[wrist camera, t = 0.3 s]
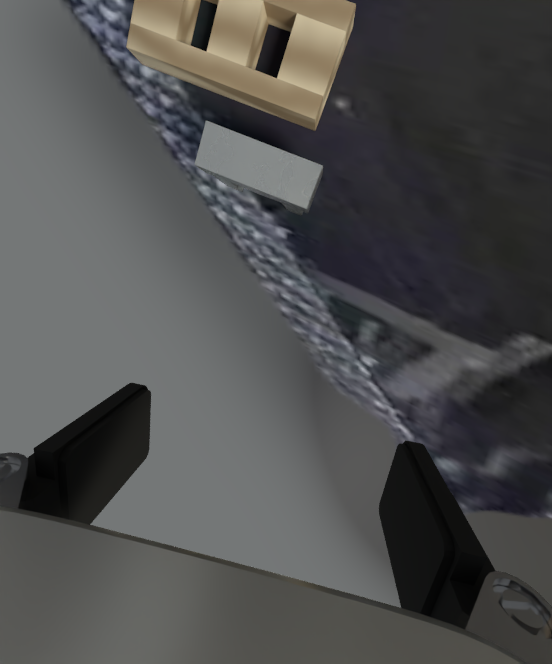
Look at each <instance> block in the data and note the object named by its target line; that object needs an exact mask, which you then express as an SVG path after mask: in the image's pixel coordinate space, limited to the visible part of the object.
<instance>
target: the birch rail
mask: <svg viewBox="0 0 552 664" xmlns="http://www.w3.org/2000/svg"><path fill="white" fill-rule="evenodd" d="M206 1H208V2H211V3H214V4H216V5H218V7H217V11H216V15H215V19H214V23H213V27H212V31H211V35H210V40H209V44H208V48H207V52H206V51H203V50H201V49H198V48H195V47H193V46H190V45H191V41H192V37H193V32H194V28H195V24H196V19H197V15H198V10H199V6H200V2H201V0H134V6H133V12H132V17H131V23H130V29H129V35H128V40H127V46H126V47H127V48H128V50H129V51H130V52H131V53H132V54H133V55H134V56H135V57H136V58H137V59H138V60H139V61H140V62H141V64H142V65H145V66H148V67H150V68H153V69H155V70H158V71H161V72H163V73H166V74H168V75H171V76H174V77H176V78H179V79H181V80H184V81H187V82H189V83H192V84H194V85H197V86H200V87H202V88H205V89H207V90H210V91H213V92H215V93H218V94H220V95H223V96H226V97H228V98H231V99H233V100H236V101H239V102H241V103H244V104H246V105H249V106H252V107H254V108H257V109H259V110H262V111H265V112H267V113H270V114H272V115H275V116H278V117H280V118H283V119H285V120H288V121H291V122H293V123H296V124H298V125H301V126H304V127H306V128H309V129H311V130H314V131H315V130H316V128H317V125H318V122H319V119H320V116H321V114H322V111H323V108H324V105H325V103H326V100H327V97H328V94H329V92H330V89H331V86H332V83H333V80H334V78H335V75H336V72H337V69H338V67H339V64H340V61H341V58H342V56H343V53H344V50H345V47H346V45H347V42H348V39H349V36H350V33H351V31H352V28H353V22H354V15H355V8H356V4H354V3H351V2H349V1H346V0H206ZM268 24H270V25H273V26H275V27H278V28H281V29H283V30H286V31H289V32H291V35H290V38H289V41H288V44H287V48H286V51H285V54H284V57H283V60H282V64H281V67H280V70H279V73H278V76H277V78H274V77H272V76H269V75H267V74H264V73H261V72H259V71H256V70H255V69H256V65H257V62H258V58H259V55H260V51H261V48H262V44H263V41H264V37H265V34H266V31H267V27H268Z"/></svg>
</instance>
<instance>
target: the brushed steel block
mask: <svg viewBox="0 0 552 664" xmlns="http://www.w3.org/2000/svg"><path fill="white" fill-rule="evenodd" d="M195 165H196V166H197V167H198V168H200V169H201V170H203V171H204V172H205V173H207V174H210V175H213V176H215V177H216V178H217V179H219V180H220V181H221V182H223V183H224V184H225V185H227V186H228V187H231V188H233V189H236V190H238V191H241V192H243V189H244V188H245V189H248V190H251V191H253V192H256V193H258V194H261V195H263V196H266V197H268V198H271V199H273V200H276V201H278V202H281V203H282V204H283V205H284V206H285V208H286V209H287V210H289V211H291V212H294V213H296V214H299V215H301V216H302V213H303V211H304V212H306V213H308V211H309V208H310V206H311V203H312V200H313V198H314V195H315V193H316V190H317V187H318V185H319V182H320V180H321V177H322V174H323V166H322V165H319V164H317V163H314V162H312V161H309V160H307V159H304V158H301V157H299V156H296V155H294V154H291V153H289V152H286V151H283V150H281V149H278V148H276V147H273V146H271V145H268V144H265V143H263V142H260V141H258V140H255V139H253V138H250V137H247V136H245V135H242V134H240V133H237V132H235V131H232V130H229V129H227V128H224V127H222V126H219V125H216V124H214V123H211V122H209V121H206V123H205V127H204V130H203V134H202V138H201V142H200V146H199V150H198V154H197V158H196V161H195Z"/></svg>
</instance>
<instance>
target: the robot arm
mask: <svg viewBox="0 0 552 664" xmlns="http://www.w3.org/2000/svg"><path fill="white" fill-rule="evenodd" d="M150 404H151V392H150V391H149V390H148V389H147V387H146V386H145V385H140V384H135V383H129V384H128V385H126V386H125V387H123V388H122V389H120V390H119V391H117V392H116V393H115V394H113V395H112V396H110V397H109V398H107V399H106V400H104V401H103V402H101V403H100V404H98V405H97V406H95V407H94V408H92V409H91V410H89V411H88V412H86V413H85V414H84V415H82V416H81V417H79V418H78V419H76V420H75V421H73V422H72V423H70V424H69V425H67V426H66V427H64V428H63V429H62V430H60V431H59V432H57V433H56V434H54V435H53V436H51V437H50V438H48V439H47V440H45V441H44V442H42V443H41V444H39V445H38V446H37V447H35V448H34V454H32V455H31V456H29V457H28V458H27V457H26V456H24V455H22V454H19V453H2V454H0V664H552V606H551V605H550V604H549V603H548V602H547V601H546V600H545V599H544V598H543V597H542V596H541V595H540V594H539V593H538V592H537V591H536V590H534V589H533V588H532V587H531V586H529V585H528V584H527V583H525V582H523V581H522V580H520V579H519V578H517V577H515V576H512V575H510V574H508V573H505V572H499V571H495V569H494V567H493V566H492V564H491V562H490V560H489V558H488V557H487V555H486V553H485V551H484V550H483V548H482V546H481V544H480V542H479V541H478V539H477V537H476V535H475V534H474V532H473V530H472V528H471V526H470V525H469V523H468V521H467V519H466V517H465V516H464V514H463V512H462V510H461V509H460V507H459V505H458V503H457V501H456V500H455V498H454V496H453V495H452V493H451V492H450V491H449V489H448V487H447V485H446V483H445V482H444V480H443V478H442V476H441V475H440V473H439V471H438V469H437V467H436V466H435V464H434V462H433V460H432V458H431V457H430V455H429V453H428V451H427V449H426V448H425V446H424V445H423V444H420V443H415V442H410V441H405V442H404V443H403V444H399V445H398V446H397V449H396V452H395V456H394V459H393V462H392V465H391V468H390V472H389V475H388V478H387V481H386V484H385V488H384V491H383V494H382V497H381V500H380V505H379V515H380V519H381V523H382V528H383V532H384V536H385V540H386V545H387V548H388V553H389V557H390V561H391V566H392V570H393V574H394V578H395V583H396V587H397V591H398V595H399V599H400V603H401V608H399V607H396V606H392V605H389V604H385V603H382V602H378V601H375V600H371V599H368V598H365V597H361V596H357V595H354V594H350V593H347V592H342V591H339V590H335V589H332V588H328V587H324V586H321V585H317V584H313V583H309V582H306V581H302V580H299V579H295V578H291V577H288V576H284V575H280V574H276V573H273V572H269V571H265V570H262V569H258V568H254V567H250V566H246V565H242V564H239V563H235V562H231V561H228V560H224V559H220V558H216V557H212V556H209V555H205V554H201V553H197V552H193V551H189V550H186V549H182V548H178V547H174V546H171V545H167V544H162V543H159V542H155V541H151V540H147V539H143V538H139V537H136V536H131V535H128V534H124V533H120V532H116V531H112V530H108V529H104V528H101V527H96V526H93V525H90V524H91V523H92V522H93V520H94V519H95V518H96V517H97V516H98V514H99V513H100V512H101V511H102V510H103V509H104V507H105V506H106V505H107V504H108V503H109V501H110V500H111V499H112V498H113V497H114V496H115V494H116V493H117V492H118V491H119V490H120V488H121V487H122V486H123V485H124V484H125V483H126V481H127V480H128V479H129V478H130V477H131V475H132V474H133V473H134V472H135V471H136V470H137V468H138V467H139V466H140V465H141V464H142V462H143V461H144V460H145V459H146V457H147V455H148V452H149V439H150V408H151V405H150Z"/></svg>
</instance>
